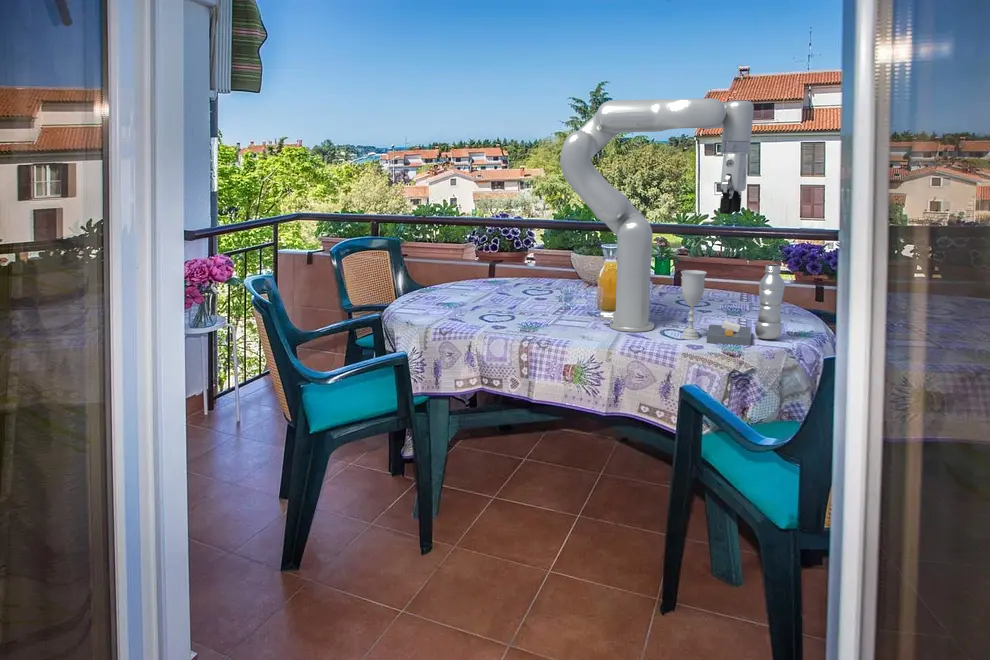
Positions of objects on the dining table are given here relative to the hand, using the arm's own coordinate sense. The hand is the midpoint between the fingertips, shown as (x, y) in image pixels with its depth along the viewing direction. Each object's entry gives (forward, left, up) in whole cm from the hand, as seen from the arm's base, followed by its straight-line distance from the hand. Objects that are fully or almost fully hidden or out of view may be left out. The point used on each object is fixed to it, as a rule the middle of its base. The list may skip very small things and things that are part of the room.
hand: (730, 212), depth 209 cm
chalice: (-8, -12, -33) cm, 36 cm away
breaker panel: (+2, -10, -33) cm, 35 cm away
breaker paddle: (+2, -10, -31) cm, 33 cm away
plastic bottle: (+12, -8, -33) cm, 36 cm away
